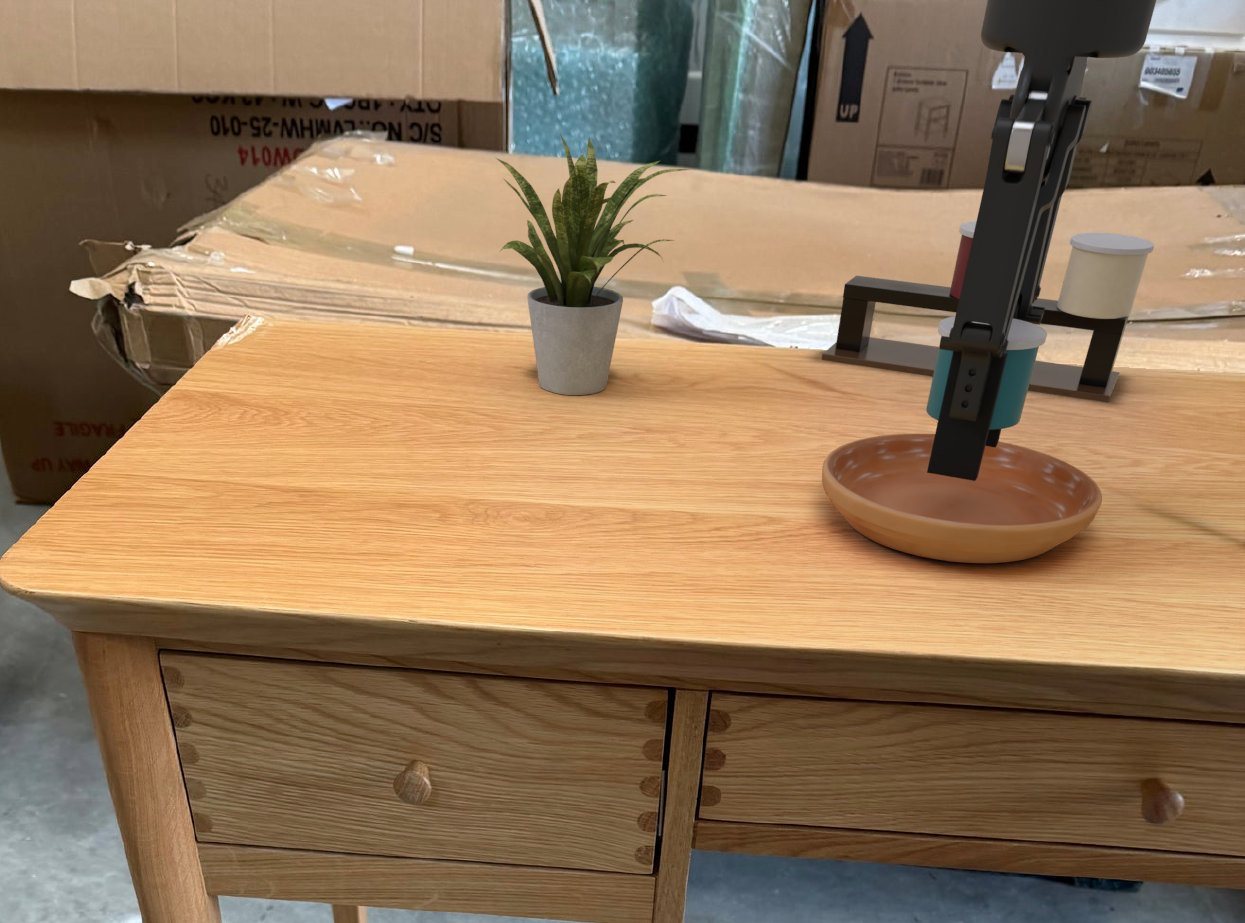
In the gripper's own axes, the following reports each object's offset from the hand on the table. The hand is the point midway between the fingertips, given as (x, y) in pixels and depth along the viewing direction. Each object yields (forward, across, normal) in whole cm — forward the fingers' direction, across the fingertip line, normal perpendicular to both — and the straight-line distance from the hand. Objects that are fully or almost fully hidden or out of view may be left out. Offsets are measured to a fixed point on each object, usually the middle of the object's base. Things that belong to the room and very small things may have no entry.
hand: (963, 456), depth 70 cm
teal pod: (-2, 0, 0) cm, 2 cm away
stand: (+4, -31, -5) cm, 32 cm away
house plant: (+4, -14, -30) cm, 33 cm away
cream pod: (-2, -31, +3) cm, 31 cm away
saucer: (+4, 0, 0) cm, 4 cm away
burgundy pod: (-2, -31, -5) cm, 32 cm away
